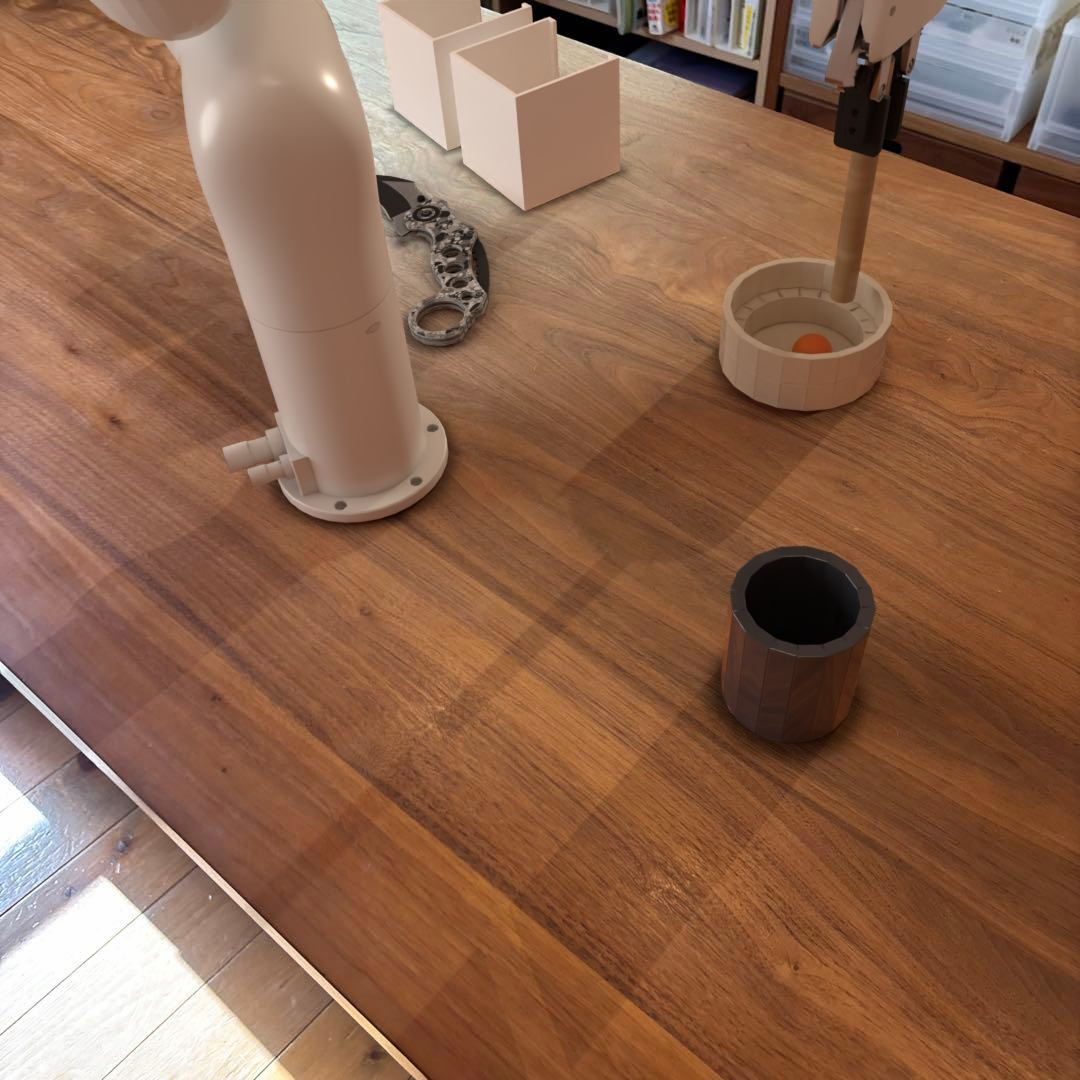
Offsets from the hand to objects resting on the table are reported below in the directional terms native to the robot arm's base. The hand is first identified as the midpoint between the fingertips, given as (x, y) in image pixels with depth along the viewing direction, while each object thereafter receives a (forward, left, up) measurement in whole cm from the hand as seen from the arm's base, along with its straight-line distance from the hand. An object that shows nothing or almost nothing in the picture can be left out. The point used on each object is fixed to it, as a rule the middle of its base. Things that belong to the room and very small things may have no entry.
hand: (866, 139), depth 73 cm
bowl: (-3, 0, -18) cm, 18 cm away
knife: (-25, +28, -18) cm, 42 cm away
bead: (-3, -1, -16) cm, 16 cm away
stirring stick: (0, 0, -13) cm, 13 cm away
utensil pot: (-19, -26, -18) cm, 37 cm away
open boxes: (-12, +43, -18) cm, 48 cm away
